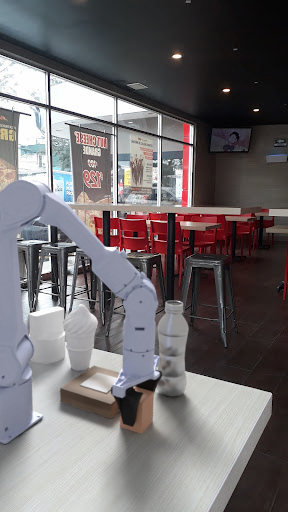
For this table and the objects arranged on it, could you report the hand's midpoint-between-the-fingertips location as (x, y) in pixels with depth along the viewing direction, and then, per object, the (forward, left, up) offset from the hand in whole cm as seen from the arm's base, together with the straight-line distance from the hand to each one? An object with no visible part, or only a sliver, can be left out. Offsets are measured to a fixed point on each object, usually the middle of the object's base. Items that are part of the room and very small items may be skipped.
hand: (136, 415), depth 74 cm
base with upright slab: (+15, +34, -2) cm, 37 cm away
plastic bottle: (+14, -1, -2) cm, 14 cm away
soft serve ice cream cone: (+14, +23, -2) cm, 27 cm away
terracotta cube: (0, 0, -2) cm, 2 cm away
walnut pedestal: (+5, +11, -2) cm, 12 cm away
